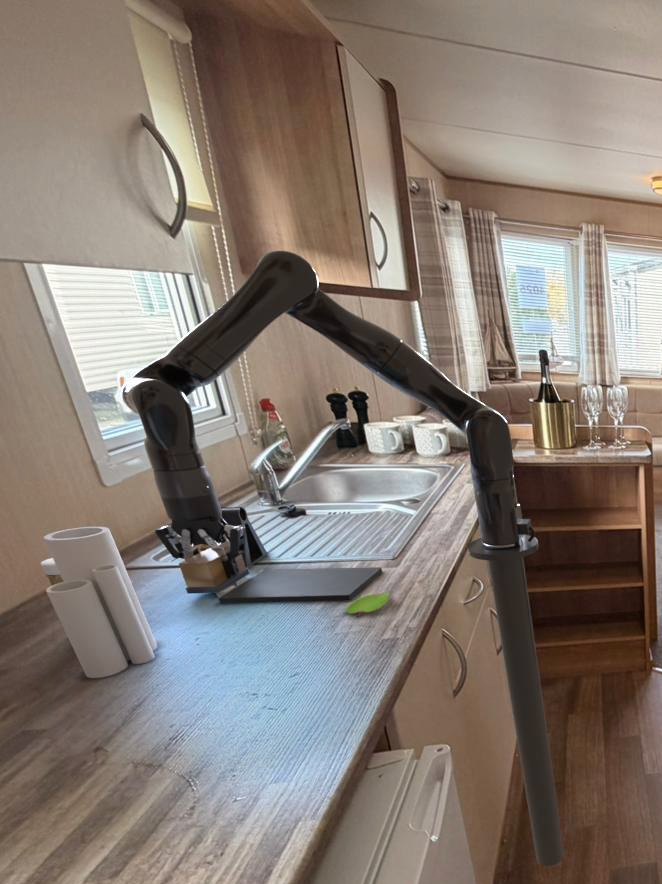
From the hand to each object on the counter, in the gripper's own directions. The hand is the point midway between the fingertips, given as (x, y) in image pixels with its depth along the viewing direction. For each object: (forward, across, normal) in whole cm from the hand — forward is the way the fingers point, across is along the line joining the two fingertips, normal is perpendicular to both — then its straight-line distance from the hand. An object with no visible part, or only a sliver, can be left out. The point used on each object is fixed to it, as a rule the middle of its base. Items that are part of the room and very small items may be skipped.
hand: (217, 576), depth 124 cm
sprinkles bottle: (+3, +8, +19) cm, 21 cm away
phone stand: (+3, +5, -16) cm, 17 cm away
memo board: (+3, -15, 0) cm, 15 cm away
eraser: (+1, 0, 0) cm, 1 cm away
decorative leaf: (+3, -30, +10) cm, 32 cm away
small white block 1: (+2, -2, +2) cm, 4 cm away
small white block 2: (+2, -1, -3) cm, 4 cm away
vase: (+3, -3, +28) cm, 29 cm away
